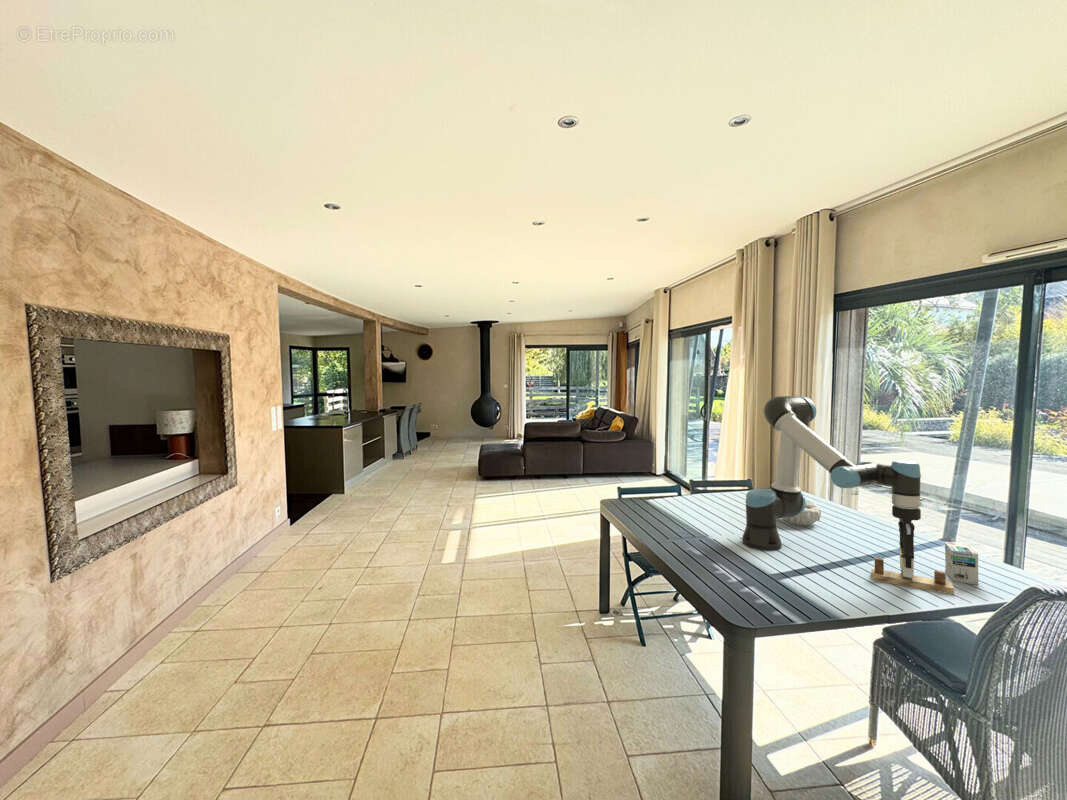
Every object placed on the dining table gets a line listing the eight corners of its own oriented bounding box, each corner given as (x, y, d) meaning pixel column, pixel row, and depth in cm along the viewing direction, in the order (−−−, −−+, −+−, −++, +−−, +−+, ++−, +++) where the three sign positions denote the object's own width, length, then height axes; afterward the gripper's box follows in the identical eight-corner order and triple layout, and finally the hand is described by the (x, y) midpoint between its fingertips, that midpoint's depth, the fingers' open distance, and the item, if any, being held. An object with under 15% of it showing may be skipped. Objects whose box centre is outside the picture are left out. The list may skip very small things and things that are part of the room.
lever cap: (902, 571, 150) (901, 550, 150) (899, 564, 156) (899, 543, 156) (913, 573, 148) (913, 551, 148) (911, 565, 154) (910, 545, 154)
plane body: (872, 579, 155) (872, 560, 155) (871, 573, 160) (871, 554, 160) (954, 594, 143) (954, 572, 143) (950, 587, 148) (950, 566, 148)
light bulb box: (979, 585, 149) (979, 553, 149) (952, 581, 153) (952, 550, 152) (969, 574, 158) (969, 544, 158) (944, 570, 162) (944, 541, 161)
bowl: (832, 529, 210) (832, 508, 210) (789, 530, 210) (788, 509, 210) (806, 517, 231) (805, 498, 231) (766, 518, 231) (766, 499, 231)
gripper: (925, 514, 141) (925, 586, 142) (916, 501, 158) (917, 565, 158) (894, 511, 146) (895, 580, 146) (889, 498, 162) (890, 561, 162)
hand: (906, 572), depth 152 cm, fingers closed on lever cap, 7 cm apart
